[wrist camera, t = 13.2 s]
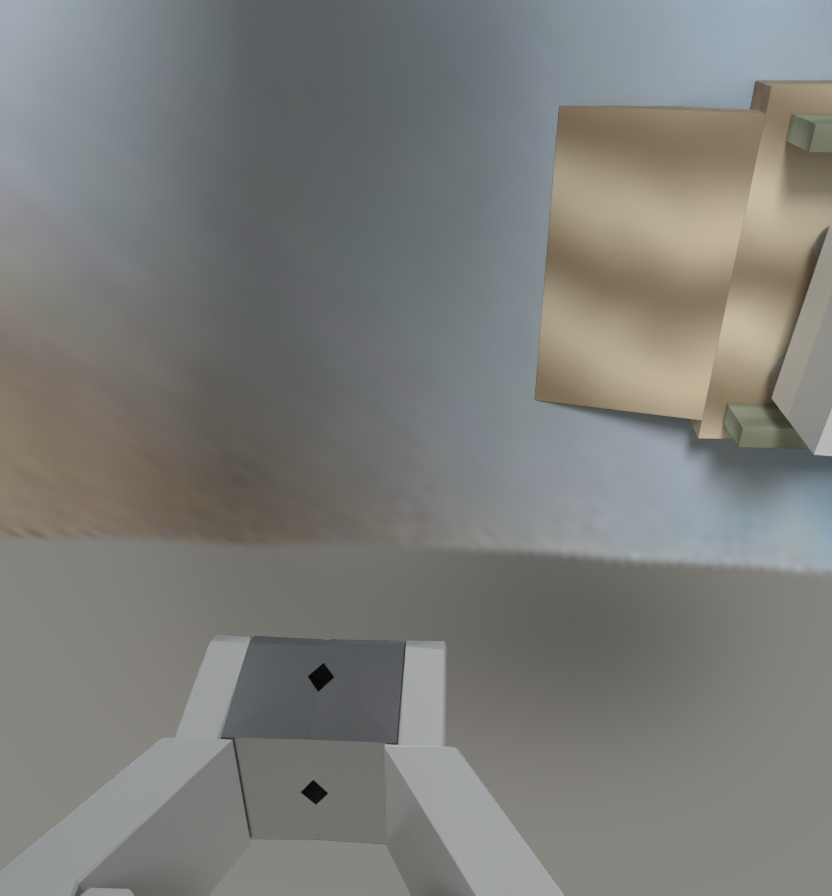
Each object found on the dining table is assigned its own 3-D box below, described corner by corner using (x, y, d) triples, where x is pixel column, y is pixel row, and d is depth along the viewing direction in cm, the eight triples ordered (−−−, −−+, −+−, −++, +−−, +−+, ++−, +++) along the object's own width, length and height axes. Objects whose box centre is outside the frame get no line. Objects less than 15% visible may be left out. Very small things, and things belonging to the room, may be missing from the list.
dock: (558, 77, 34) (575, 94, 29) (1112, 78, 33) (1219, 95, 28) (531, 408, 42) (541, 461, 37) (974, 415, 41) (1040, 471, 37)
